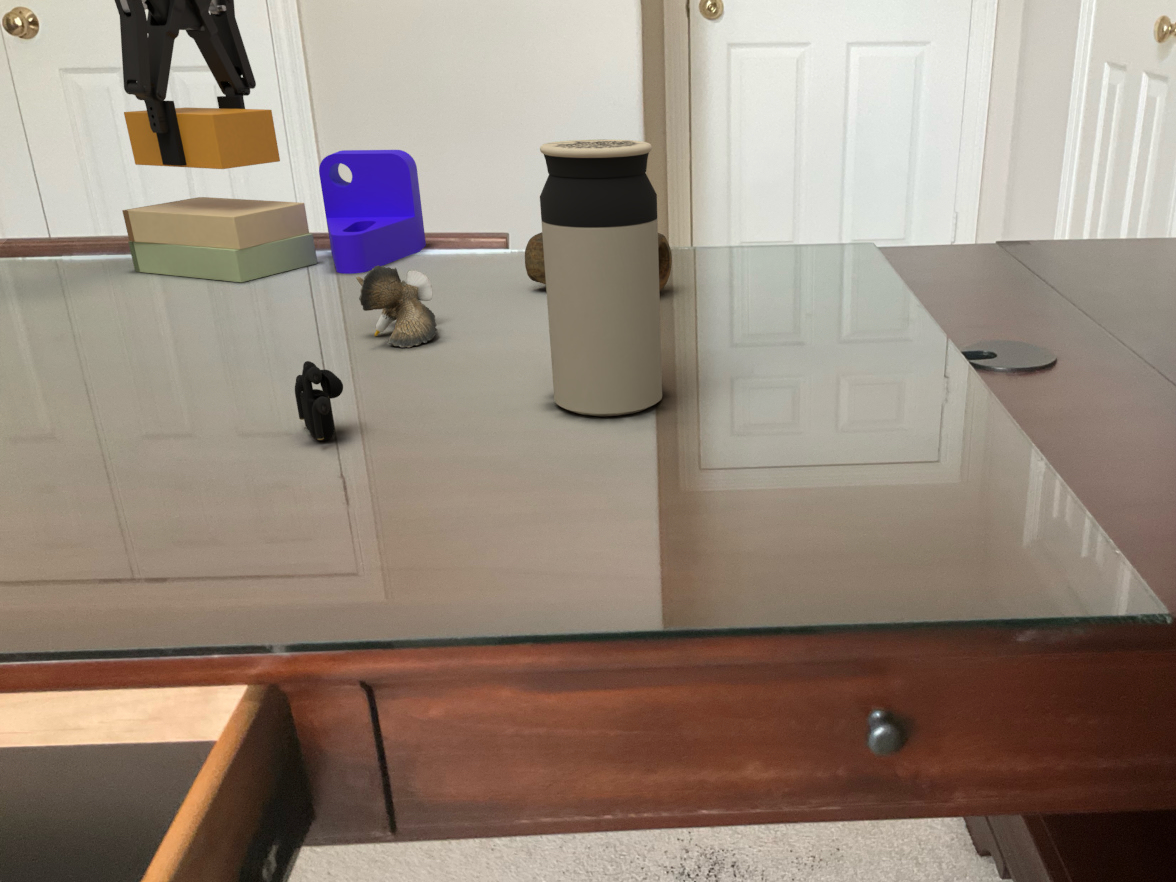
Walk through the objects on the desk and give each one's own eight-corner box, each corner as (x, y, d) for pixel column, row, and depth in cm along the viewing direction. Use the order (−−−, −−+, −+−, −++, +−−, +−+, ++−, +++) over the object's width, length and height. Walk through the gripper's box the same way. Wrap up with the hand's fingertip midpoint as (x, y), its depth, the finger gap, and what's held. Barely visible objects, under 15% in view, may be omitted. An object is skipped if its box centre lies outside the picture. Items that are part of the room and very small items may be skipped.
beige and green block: (132, 272, 125) (118, 209, 122) (216, 253, 135) (205, 195, 132) (240, 283, 119) (227, 217, 116) (319, 263, 129) (309, 202, 126)
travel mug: (682, 406, 79) (677, 145, 71) (583, 425, 75) (566, 152, 67) (631, 379, 85) (621, 136, 77) (537, 396, 81) (517, 142, 74)
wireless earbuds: (297, 424, 76) (285, 354, 73) (334, 418, 77) (322, 348, 75) (322, 454, 70) (310, 379, 68) (361, 447, 71) (350, 373, 69)
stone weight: (677, 287, 116) (675, 223, 113) (658, 302, 110) (656, 234, 107) (546, 281, 119) (542, 218, 116) (521, 294, 113) (515, 229, 110)
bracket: (340, 246, 140) (326, 150, 135) (426, 245, 140) (414, 149, 135) (301, 274, 123) (282, 166, 118) (397, 273, 124) (383, 165, 119)
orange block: (280, 161, 123) (271, 109, 121) (222, 169, 116) (212, 114, 114) (195, 157, 128) (185, 107, 126) (135, 164, 121) (123, 112, 119)
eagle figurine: (337, 316, 100) (341, 320, 91) (371, 246, 99) (377, 243, 91) (414, 355, 103) (425, 361, 95) (447, 287, 102) (460, 288, 94)
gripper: (216, -60, 123) (253, 150, 132) (44, -76, 105) (102, 169, 114) (266, -63, 120) (301, 153, 129) (99, -79, 102) (154, 172, 112)
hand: (208, 160), depth 122 cm, fingers closed on orange block, 8 cm apart
